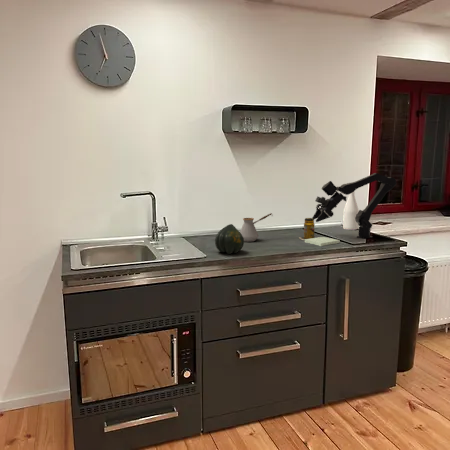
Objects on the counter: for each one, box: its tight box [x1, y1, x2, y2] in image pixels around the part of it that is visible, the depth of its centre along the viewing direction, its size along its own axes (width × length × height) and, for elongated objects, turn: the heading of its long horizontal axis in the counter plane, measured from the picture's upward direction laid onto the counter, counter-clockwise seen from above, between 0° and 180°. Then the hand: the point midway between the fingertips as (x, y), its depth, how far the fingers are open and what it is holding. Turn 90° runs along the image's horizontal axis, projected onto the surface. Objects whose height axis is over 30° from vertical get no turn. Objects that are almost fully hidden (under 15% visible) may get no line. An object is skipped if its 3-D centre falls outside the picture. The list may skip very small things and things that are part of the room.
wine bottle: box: [342, 191, 360, 231], centre depth 284 cm, size 10×10×30 cm
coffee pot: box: [239, 212, 274, 243], centre depth 255 cm, size 21×12×15 cm, turn 112°
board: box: [304, 236, 341, 247], centre depth 245 cm, size 14×13×2 cm
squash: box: [214, 223, 245, 255], centre depth 225 cm, size 14×15×15 cm
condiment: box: [298, 217, 315, 241], centre depth 256 cm, size 7×8×12 cm
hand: (314, 220), depth 255 cm, fingers open, 9 cm apart
